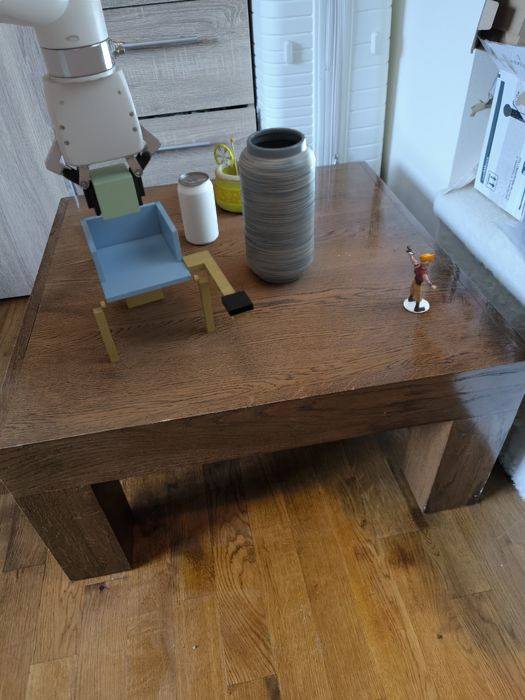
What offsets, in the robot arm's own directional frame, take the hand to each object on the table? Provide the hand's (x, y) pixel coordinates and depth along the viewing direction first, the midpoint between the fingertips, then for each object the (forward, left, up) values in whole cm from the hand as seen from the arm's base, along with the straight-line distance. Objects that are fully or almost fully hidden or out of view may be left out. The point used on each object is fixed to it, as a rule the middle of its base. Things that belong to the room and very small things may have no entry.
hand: (117, 205), depth 71 cm
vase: (+25, +1, -19) cm, 31 cm away
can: (+16, +18, -19) cm, 31 cm away
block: (0, 0, 0) cm, 0 cm away
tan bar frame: (+1, -2, -19) cm, 19 cm away
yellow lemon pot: (+28, +28, -19) cm, 44 cm away
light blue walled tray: (+3, -7, -9) cm, 12 cm away
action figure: (+40, -17, -19) cm, 47 cm away
